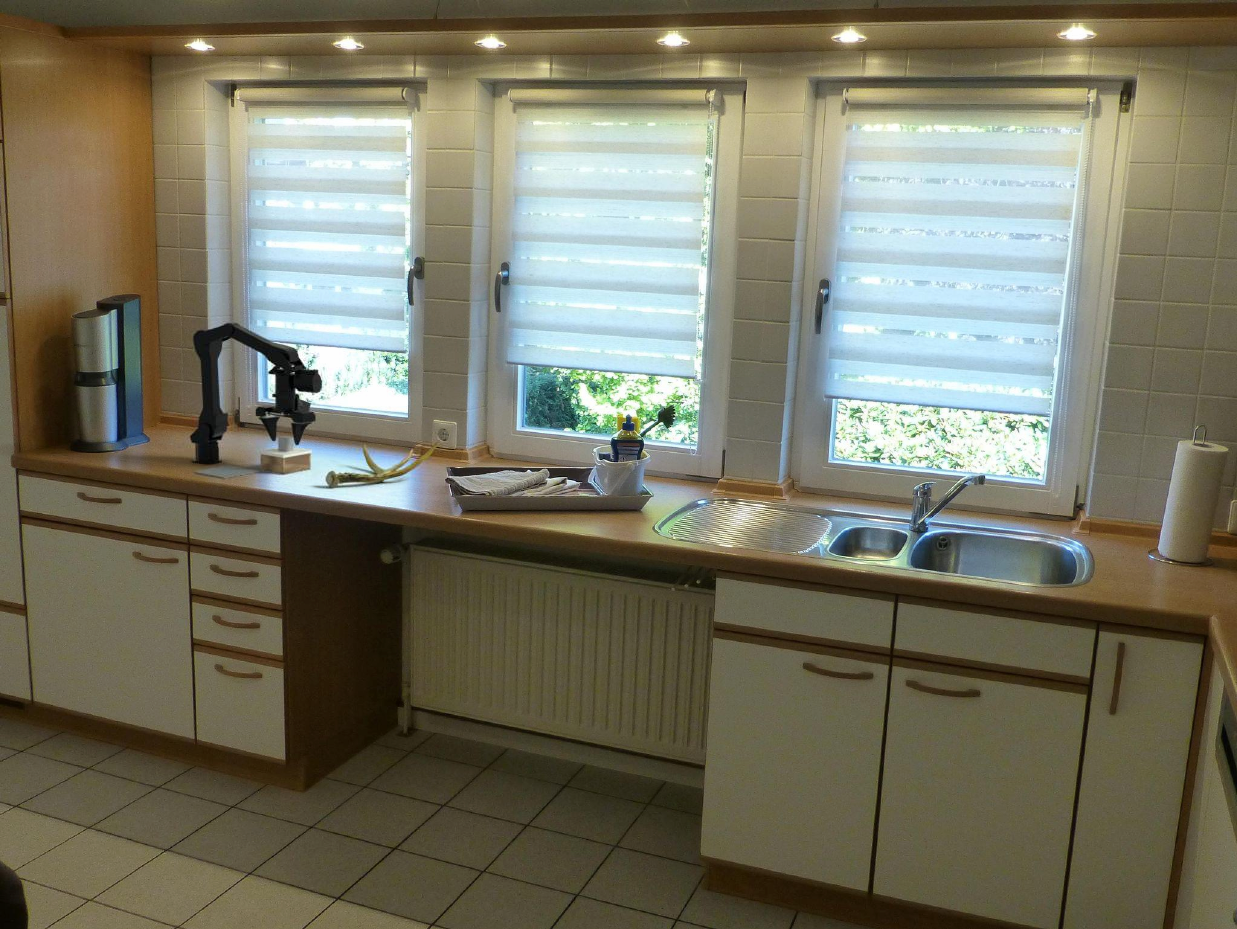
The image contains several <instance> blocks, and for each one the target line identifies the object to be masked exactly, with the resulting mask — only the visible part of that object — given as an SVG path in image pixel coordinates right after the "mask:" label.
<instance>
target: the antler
mask: <svg viewBox="0 0 1237 929" xmlns="http://www.w3.org/2000/svg"><path fill="white" fill-rule="evenodd" d="M440 443H441V440H439V441H437V442H436V443H435V444H433V445H432V446H431V447H430V448H429V449H428V450H427V451H426V452H425V453H424V454H422V455H421V456H420V457H419V458H417V459H416V460H415V461H414V462H412V463H410V464H409V465H407V466H406V467H404V466H405V465H406V464H407V463H408V462H409V461H410V459H411V458H412V455H413V451H414V449H413V448H412V449H411V450H409V452H408V454H407V456H406V457H405V458H404V459H402V460H401V461H400V462H398V463H397V464H395V465H393V466H392V467H390V468H388V469H387V468H386V469H384V468H382V467H380V466H378V465H377V463H376V462H375V461H374V460H373V459H372V457H371V455H370V454H369V452H368V449H367V445H366V444H363V446H362V447H363V448H362V452H363V455H364V459H365V461H366V465H367V466H368V468H370V470H371V471H373V472H374V473H375V474H366V473H357V472H344V473H343V472H341V471H339V473H336V471H335V470H331V471H328V473H327V474H326V476H325V482H326V484H327V486H328V487H330V488H336V487H339V485H341V484H351V483H356V484H357V483H358V484H360V483H361V484H362V483H363V484H365V483H367V484H368V483H369V484H371V483H372V484H374V483H380V482H383V481H385V480H390V479H395V478H397V477H398V478H399V477H402V476H405V475H406V474H408V473H410V472H411V471H413V470H414V469H416V468H418V467H419V466H420V465H421V464H422V463H423V462H424V461H426V460H427V459H428V458H429V457H430V456H431V455H432V453H433V452H434V451H435V450H436V449H437V447H438V446H439V444H440ZM402 467H404V468H402ZM401 468H402V469H401Z"/></svg>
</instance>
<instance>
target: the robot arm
mask: <svg viewBox="0 0 1237 929" xmlns="http://www.w3.org/2000/svg"><path fill="white" fill-rule="evenodd" d="M230 339H233V340H235V341H237V342H239V343H241V344H242V345H244V346H246V347H248V348H250V349H253V350H254V351H257V352H258V353H260V354H262V355H263V356H264V357H265V359H266V360H267V361H269V363H271V364H272V365H273V367H272V368H271V369H270V370H269V371H267V373H268V375H274V377H275V378H274V379H275V382H274V383H275V384H274V391H275V392H274V393H272V394H271V397H272V398H274V399H275V400H274V402H275V403H274V405H270V404H268V405H266V404H265V405H260V406H257V407H256V408H255V417H258V420H260V421H261V423H262V424H263V426H264V428H265V430H266V431H267V433H268V435H269V438H270V440H271V441H272V442H275V441H277V430H278V429H277V428H278V421H279V419H280V418H281V417H282V418H289V419H291V420H292V422H291V423H290V424H291V430H292V431H291V432H292V437H293V443H294V445H295V446H299V445H300V443H301V440H302V437H303V436H304V432H305V430H306V428H307V427H308V425H312V424H313V422H316V417H317V416H316V413H315V412H314V411H310V409H311V405H312V402H310V401H306V400H303V399H300V394H299V393H296V392H300V393H301V392H302V393H312V394H319V393H320V392H321V390H322V386H323V379H322V377H321V375H320V374H319V369H317V368H315V369H309V368H308V369H307V367H306V365H305V364H304V363H303V361H302V360H301V358H300V357H299V352H298V350H297V349H296V348H295V347H292V346H290V345H287V344H282V343H277V342H274V341H271V340H269V339H267V338H265V337H263V336H261V335H259V334H258V333H256V332H253V331H252V330H249V329H247V328H246V327H244V326H243V325H240V324H239V323H238V322H226V323H224V324H222V325H220V326H216V327H213V328H209V329H208V328H207V329H200V330H197V331H196V332H195V333H194V334H193V336H192V344H193V348H194V351H195V353H196V355H197V356H198V359H199V361H200V362H199V363H200V379H201V399H202V408H201V412H200V414H199V416H198V422H197V429H195V430H194V431H193V432H192V433H191V434H190V436H189V439H190V441H191V444H195V445H194V446H195V451H194V452H195V459H191V460H190V461H191V462H192V463H197V464H203V465H209V464H215V463H221V462H223V459H221V458H220V447H219V441H222V439H223V436H224V435H225V433H226V432H228V427H229V426H230V424H229V414H228V412H224V411H223V410H222V408H221V401H220V400H221V399H220V398H221V397H220V379H219V378H220V377H219V376H220V375H219V358H220V355H221V354H222V350H223V343H224V342H227V341H228V340H230Z"/></svg>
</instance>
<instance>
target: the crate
mask: <svg viewBox="0 0 1237 929" xmlns="http://www.w3.org/2000/svg"><path fill="white" fill-rule="evenodd" d="M311 455H312V453H308V454H303V455H297V456H292V457H286V458H281V457H275V456H269V455H264V454H260V471H261V470H263V471H262V472H266V473H274V474H277V473H279V474H278V475H283V476H284V475H289V474H294V473H298V472H303V470H304V471H309V470H311V469H312V467H311V466H312V464H311V463H312V462H311Z"/></svg>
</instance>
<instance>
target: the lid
mask: <svg viewBox="0 0 1237 929" xmlns="http://www.w3.org/2000/svg"><path fill="white" fill-rule="evenodd" d="M277 440H278V441H277V444H278V446H277V447H275V448H269V449H263V450H259V451H258V454H259V455H261V454H264V455H269V456H275V457H281V458H286V457H292V456H297V455H303V454H308V453H311V454H313V449H307V448H302V447H295V446H294V437H293V436H288V435H284V436H277Z"/></svg>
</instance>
